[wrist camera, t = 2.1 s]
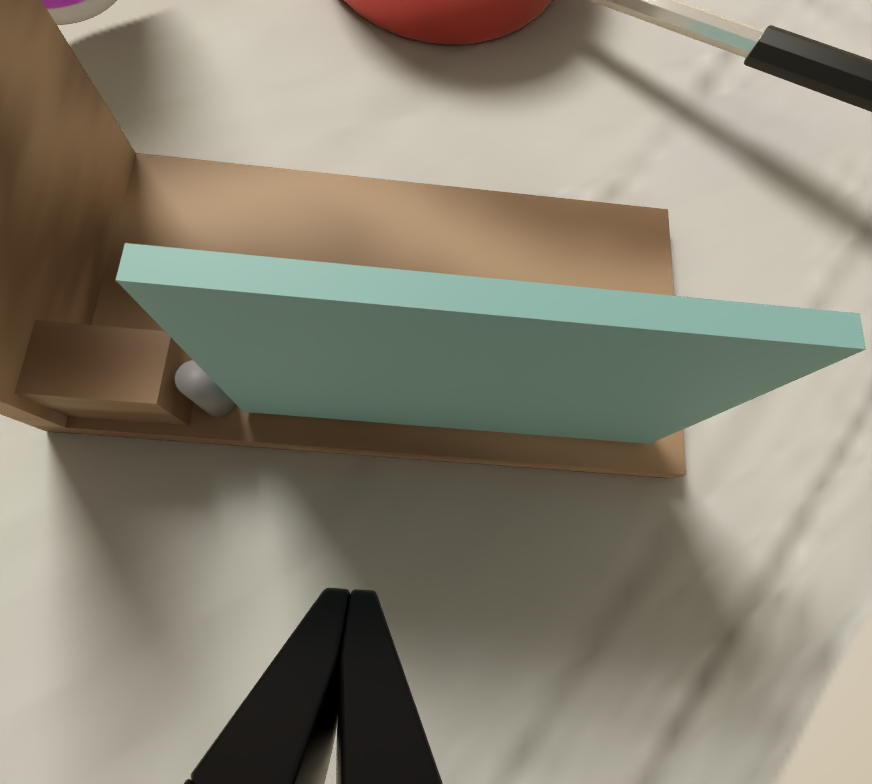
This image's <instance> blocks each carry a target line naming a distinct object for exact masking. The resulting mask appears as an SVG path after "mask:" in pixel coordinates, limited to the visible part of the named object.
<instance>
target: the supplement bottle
mask: <svg viewBox="0 0 872 784" xmlns="http://www.w3.org/2000/svg"><path fill="white" fill-rule="evenodd" d="M41 1H42V2H43V4H44V5H45V7H46V9H47V10H48V12H49V13H50V15H51V17H52V18H53V20H54V22H55V23H56V25H63V24H71V23H76V22H81V21H84V20H87V19H90V18H92V17H94V16H96V15H98V14H100V13H102V12H103V11H105V10H107V9H108V8H109V7H110V6H111V5H113V4H114V3H115V1H117V0H41Z"/></svg>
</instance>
